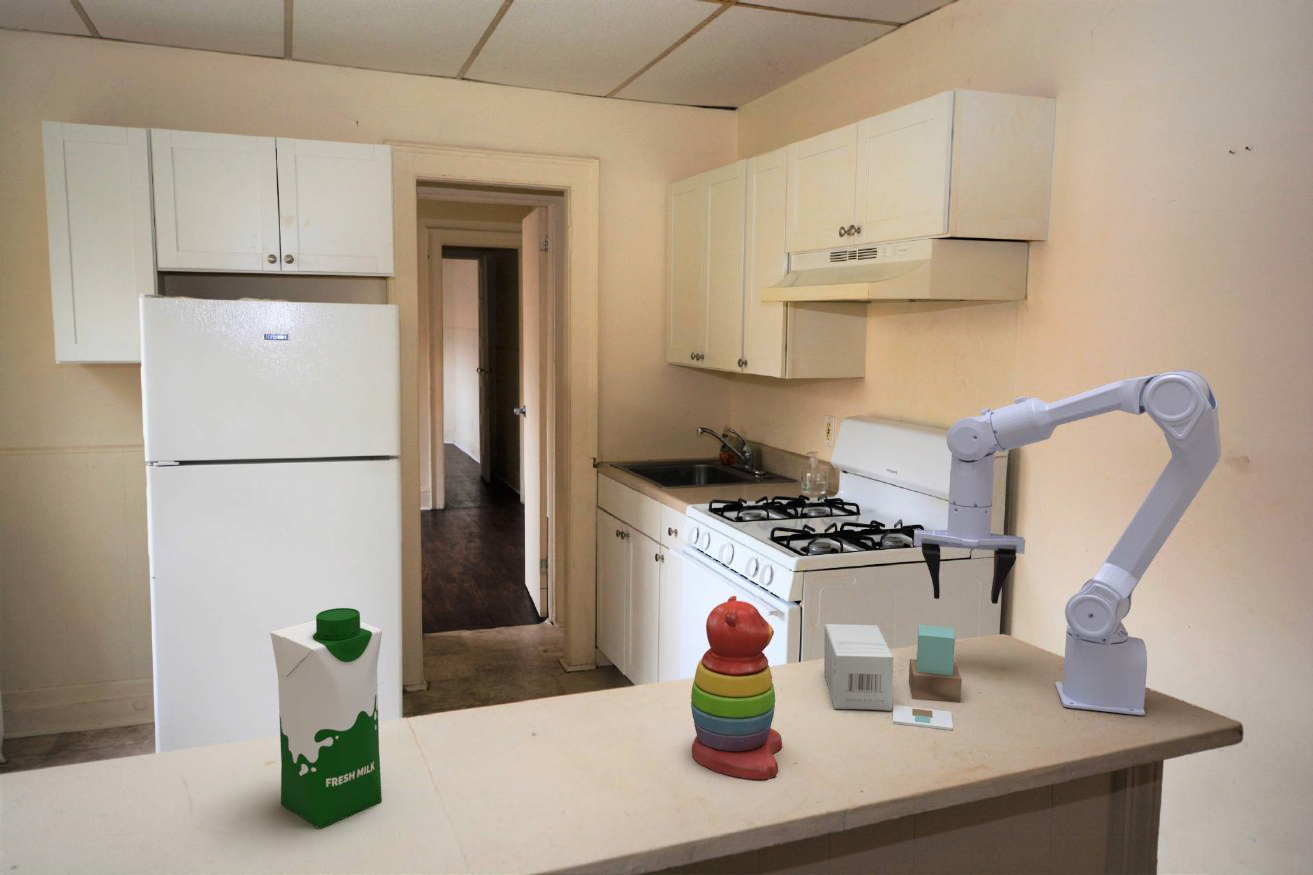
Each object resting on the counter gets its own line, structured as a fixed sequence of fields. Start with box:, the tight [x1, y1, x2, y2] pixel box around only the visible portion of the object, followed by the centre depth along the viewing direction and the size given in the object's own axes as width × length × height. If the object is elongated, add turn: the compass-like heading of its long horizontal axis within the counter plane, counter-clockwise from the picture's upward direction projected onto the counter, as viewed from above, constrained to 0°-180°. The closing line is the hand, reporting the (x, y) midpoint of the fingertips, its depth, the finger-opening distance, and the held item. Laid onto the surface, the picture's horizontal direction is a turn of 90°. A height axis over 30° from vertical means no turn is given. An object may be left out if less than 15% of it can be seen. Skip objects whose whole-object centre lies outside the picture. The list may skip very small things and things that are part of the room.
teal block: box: [916, 624, 956, 676], centre depth 125 cm, size 4×4×5 cm
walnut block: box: [908, 658, 963, 704], centre depth 125 cm, size 6×6×4 cm
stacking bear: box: [690, 595, 783, 780], centre depth 105 cm, size 11×10×18 cm
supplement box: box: [823, 623, 894, 712], centre depth 125 cm, size 7×7×13 cm
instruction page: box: [892, 704, 954, 731], centre depth 117 cm, size 7×5×1 cm
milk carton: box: [270, 607, 383, 830], centre depth 93 cm, size 9×9×20 cm
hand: (965, 599), depth 132 cm, fingers open, 7 cm apart
